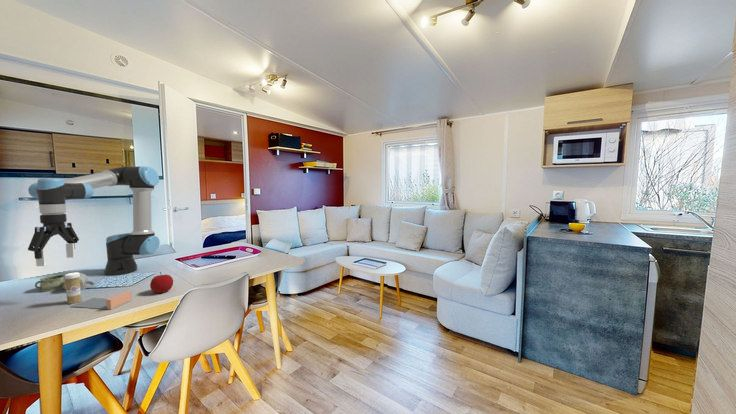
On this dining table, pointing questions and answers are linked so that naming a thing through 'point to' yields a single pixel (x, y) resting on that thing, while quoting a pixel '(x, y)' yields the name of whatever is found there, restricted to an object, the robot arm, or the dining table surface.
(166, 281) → the apple
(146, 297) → the dining table surface
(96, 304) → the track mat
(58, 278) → the vessel
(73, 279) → the sprinkles bottle
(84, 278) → the ceramic mug
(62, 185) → the robot arm
